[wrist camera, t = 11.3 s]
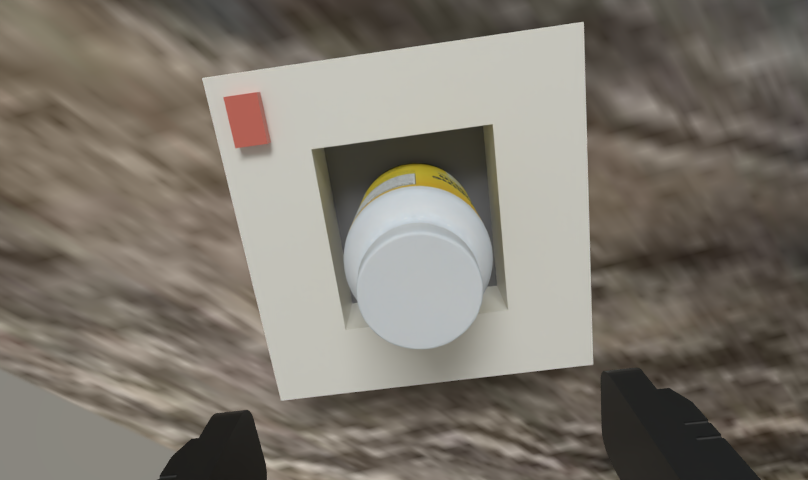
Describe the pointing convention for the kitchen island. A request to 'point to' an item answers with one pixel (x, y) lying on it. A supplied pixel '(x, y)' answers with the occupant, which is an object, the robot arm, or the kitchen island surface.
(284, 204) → the socket block
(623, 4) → the kitchen island surface
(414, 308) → the pill bottle
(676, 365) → the kitchen island surface
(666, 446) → the robot arm
